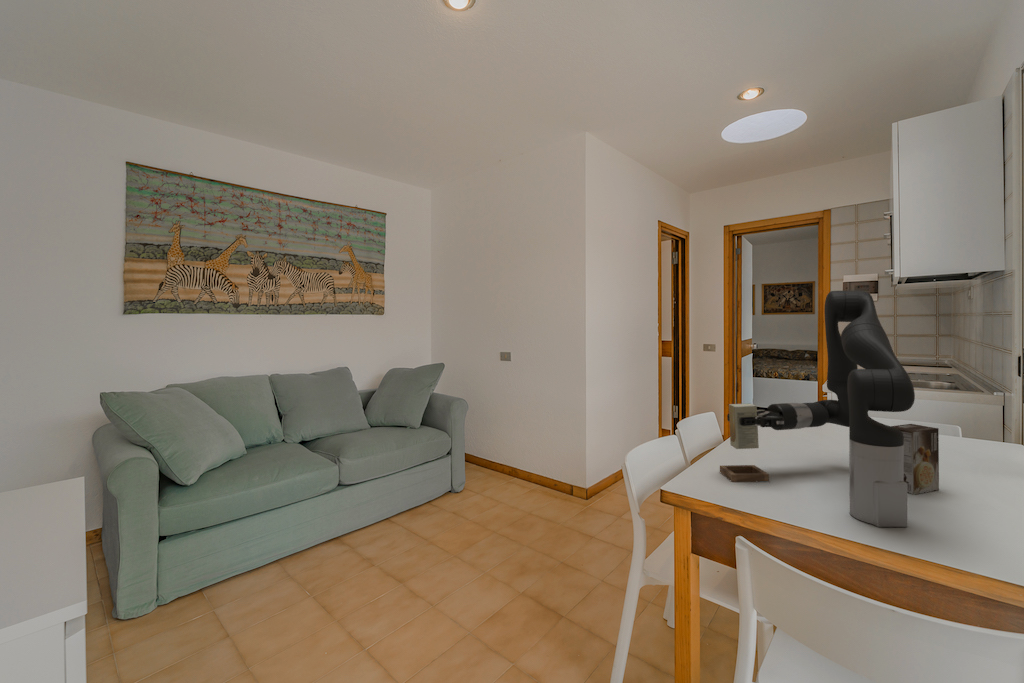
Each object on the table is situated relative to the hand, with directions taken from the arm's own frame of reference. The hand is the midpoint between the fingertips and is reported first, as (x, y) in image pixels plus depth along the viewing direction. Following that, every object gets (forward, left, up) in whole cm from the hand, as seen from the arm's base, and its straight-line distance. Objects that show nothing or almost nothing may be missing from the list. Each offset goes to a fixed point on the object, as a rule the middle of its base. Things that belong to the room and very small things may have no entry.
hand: (734, 419), depth 123 cm
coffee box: (-9, -41, -17) cm, 45 cm away
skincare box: (0, -3, -8) cm, 9 cm away
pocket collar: (+1, -3, -17) cm, 17 cm away
